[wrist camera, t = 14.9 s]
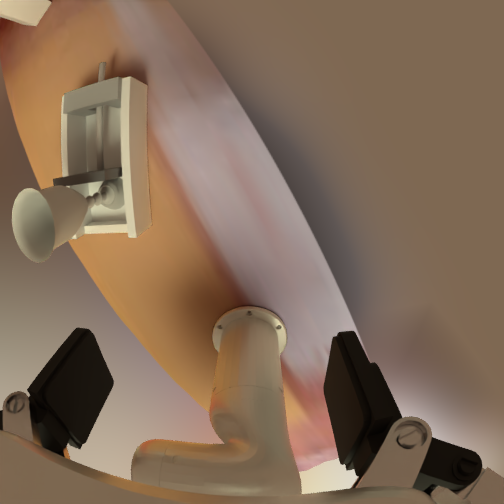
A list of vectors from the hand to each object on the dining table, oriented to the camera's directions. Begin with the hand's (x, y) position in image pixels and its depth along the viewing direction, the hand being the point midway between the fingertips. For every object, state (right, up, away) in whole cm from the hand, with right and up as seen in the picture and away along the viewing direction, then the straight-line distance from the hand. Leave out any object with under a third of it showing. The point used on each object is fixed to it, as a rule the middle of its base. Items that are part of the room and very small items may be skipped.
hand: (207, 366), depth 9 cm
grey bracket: (-19, +18, +26) cm, 37 cm away
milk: (-42, +53, +13) cm, 69 cm away
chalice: (-19, +13, +27) cm, 35 cm away
